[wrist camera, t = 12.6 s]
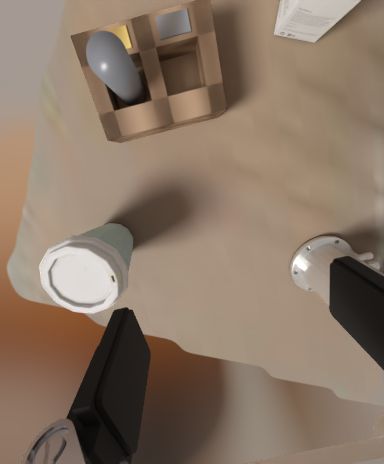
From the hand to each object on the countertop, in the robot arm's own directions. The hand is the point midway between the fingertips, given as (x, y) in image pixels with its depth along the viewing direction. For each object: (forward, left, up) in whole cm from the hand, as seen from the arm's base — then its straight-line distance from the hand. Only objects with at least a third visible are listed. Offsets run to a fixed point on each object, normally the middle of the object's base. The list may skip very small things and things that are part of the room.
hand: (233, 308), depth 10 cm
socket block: (+2, -16, -28) cm, 33 cm away
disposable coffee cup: (+16, +4, -28) cm, 33 cm away
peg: (+5, -16, -26) cm, 31 cm away
